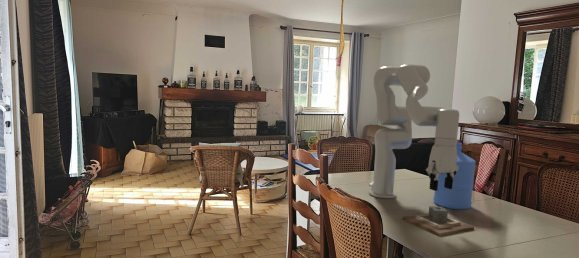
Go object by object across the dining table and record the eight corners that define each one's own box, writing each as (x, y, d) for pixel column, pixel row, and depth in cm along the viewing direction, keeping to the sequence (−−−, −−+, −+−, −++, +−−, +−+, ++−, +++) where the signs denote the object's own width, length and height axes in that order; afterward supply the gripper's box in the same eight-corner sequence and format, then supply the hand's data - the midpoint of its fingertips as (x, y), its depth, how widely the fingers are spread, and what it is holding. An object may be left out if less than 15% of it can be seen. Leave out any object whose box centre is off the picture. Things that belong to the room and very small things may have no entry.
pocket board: (402, 218, 149) (402, 213, 149) (435, 213, 157) (435, 209, 157) (439, 236, 133) (440, 230, 133) (474, 229, 142) (474, 224, 141)
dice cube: (440, 219, 148) (442, 206, 147) (446, 223, 143) (448, 211, 142) (428, 218, 148) (429, 206, 147) (433, 223, 143) (434, 210, 142)
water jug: (475, 212, 163) (482, 146, 159) (436, 207, 166) (442, 143, 162) (466, 201, 178) (472, 141, 175) (430, 197, 181) (436, 139, 178)
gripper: (453, 140, 149) (448, 184, 151) (420, 141, 141) (416, 188, 143) (470, 143, 142) (465, 189, 144) (436, 144, 134) (431, 193, 136)
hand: (440, 188), depth 144 cm, fingers open, 7 cm apart
